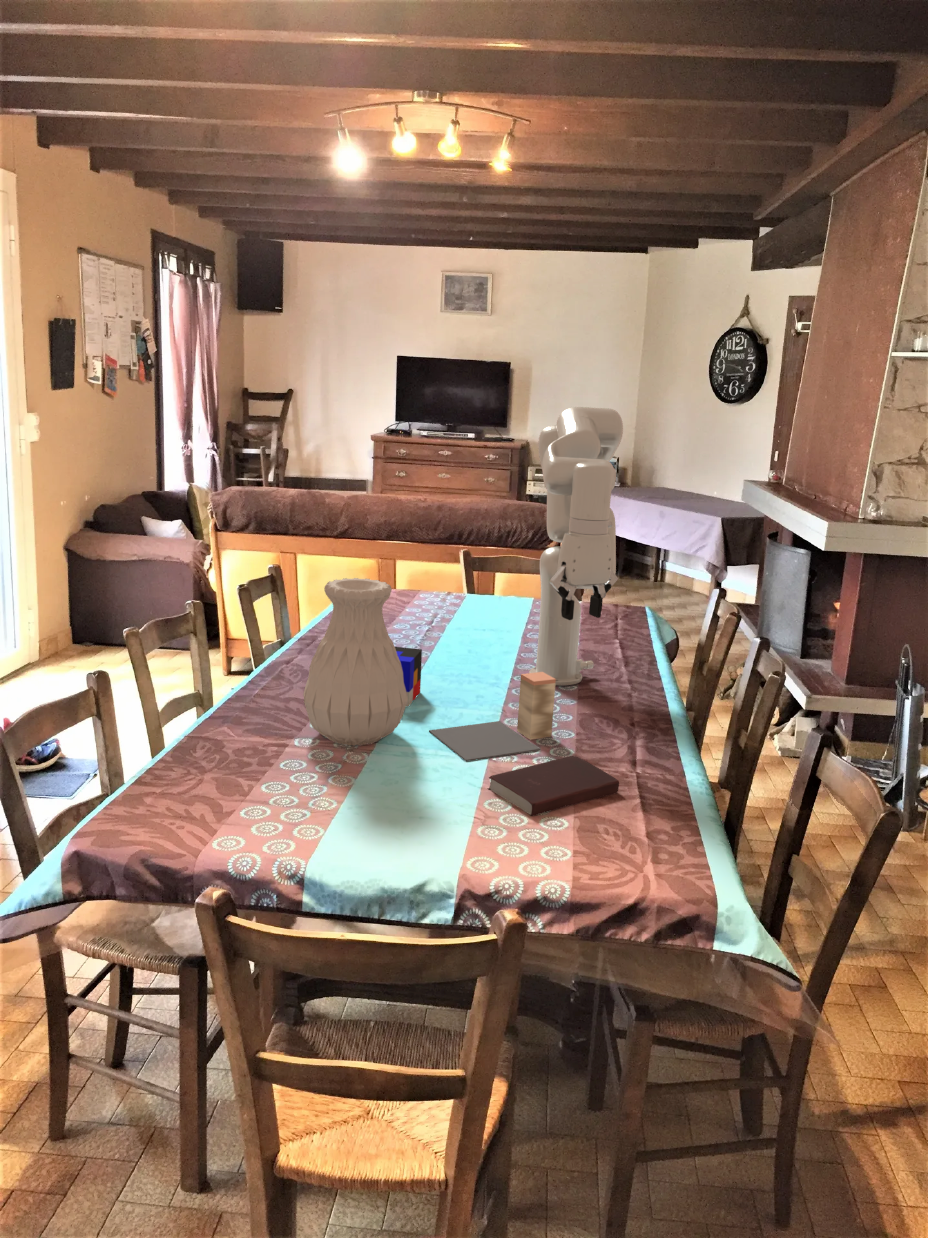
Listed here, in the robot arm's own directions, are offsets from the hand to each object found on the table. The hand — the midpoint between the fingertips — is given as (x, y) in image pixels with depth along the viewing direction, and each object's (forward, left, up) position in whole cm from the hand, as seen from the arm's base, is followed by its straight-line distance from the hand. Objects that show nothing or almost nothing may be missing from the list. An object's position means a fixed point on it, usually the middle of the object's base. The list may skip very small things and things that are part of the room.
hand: (581, 616), depth 192 cm
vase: (+43, -11, -24) cm, 50 cm away
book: (+20, +25, -24) cm, 40 cm away
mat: (+20, 0, -24) cm, 31 cm away
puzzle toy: (+27, -30, -24) cm, 47 cm away
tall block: (+9, 0, -24) cm, 25 cm away
